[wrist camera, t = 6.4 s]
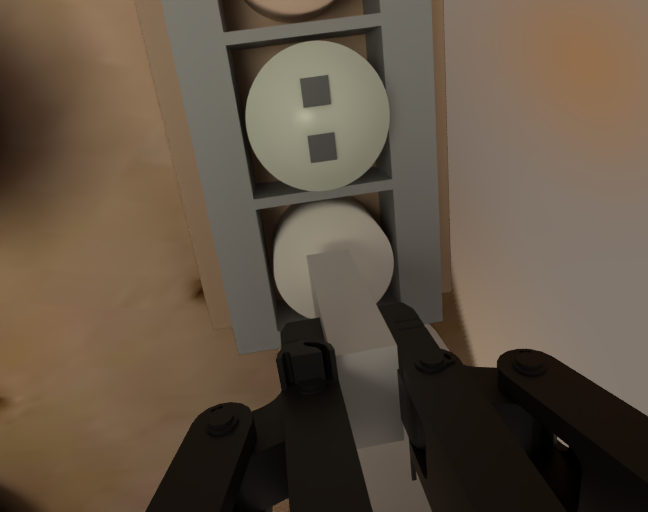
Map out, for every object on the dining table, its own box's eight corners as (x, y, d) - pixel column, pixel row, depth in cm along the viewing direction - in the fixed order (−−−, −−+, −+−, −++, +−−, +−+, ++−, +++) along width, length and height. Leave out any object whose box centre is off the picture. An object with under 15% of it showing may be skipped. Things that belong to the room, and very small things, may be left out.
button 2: (260, 182, 19) (259, 201, 16) (238, 56, 18) (232, 50, 14) (375, 165, 20) (395, 181, 16) (364, 40, 18) (385, 31, 15)
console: (215, 318, 24) (204, 364, 20) (109, -136, 17) (61, -201, 13) (443, 282, 25) (476, 319, 21) (427, -169, 18) (471, -240, 14)
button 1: (281, 297, 22) (283, 332, 19) (265, 199, 21) (264, 220, 17) (380, 281, 23) (398, 313, 19) (372, 184, 21) (390, 202, 18)
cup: (273, 396, 26) (278, 818, 11) (357, 280, 24) (500, 599, 9) (390, 452, 28) (524, 863, 13) (475, 349, 26) (742, 696, 12)
